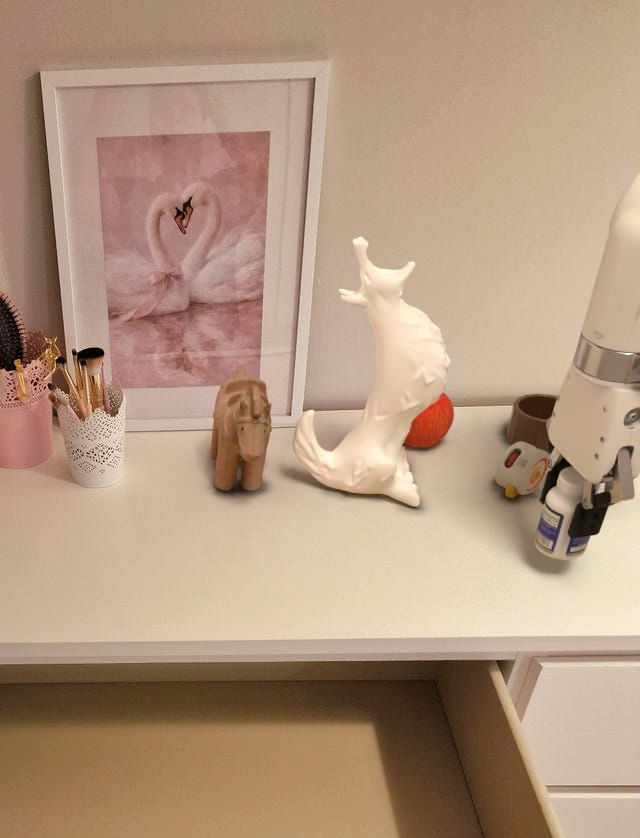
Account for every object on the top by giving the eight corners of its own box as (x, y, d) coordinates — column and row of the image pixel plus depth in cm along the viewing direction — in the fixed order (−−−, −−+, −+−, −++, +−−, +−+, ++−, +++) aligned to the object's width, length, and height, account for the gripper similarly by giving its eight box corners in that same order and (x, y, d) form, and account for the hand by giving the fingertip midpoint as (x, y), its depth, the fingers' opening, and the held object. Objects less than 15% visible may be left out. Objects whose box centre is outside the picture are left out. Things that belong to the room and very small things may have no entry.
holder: (549, 421, 120) (557, 391, 117) (576, 448, 114) (586, 417, 111) (496, 427, 119) (504, 397, 116) (522, 455, 114) (530, 424, 111)
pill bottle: (585, 536, 95) (608, 466, 89) (585, 564, 92) (610, 494, 86) (533, 528, 97) (553, 459, 91) (532, 556, 93) (552, 486, 87)
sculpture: (431, 509, 106) (483, 254, 85) (293, 511, 106) (312, 258, 86) (415, 460, 114) (459, 217, 94) (286, 462, 115) (302, 221, 95)
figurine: (220, 522, 105) (221, 409, 95) (206, 448, 118) (206, 342, 108) (280, 518, 106) (287, 404, 95) (260, 445, 118) (265, 338, 108)
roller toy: (548, 487, 108) (560, 446, 104) (517, 506, 105) (529, 464, 101) (517, 473, 111) (528, 432, 107) (486, 491, 108) (497, 450, 104)
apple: (390, 423, 121) (399, 368, 116) (450, 430, 119) (461, 375, 114) (383, 451, 116) (391, 396, 110) (445, 459, 114) (457, 403, 108)
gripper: (716, 393, 73) (646, 562, 86) (609, 313, 86) (561, 471, 98) (632, 404, 73) (574, 572, 85) (536, 322, 85) (498, 479, 98)
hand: (568, 516), depth 92 cm, fingers closed on pill bottle, 5 cm apart
